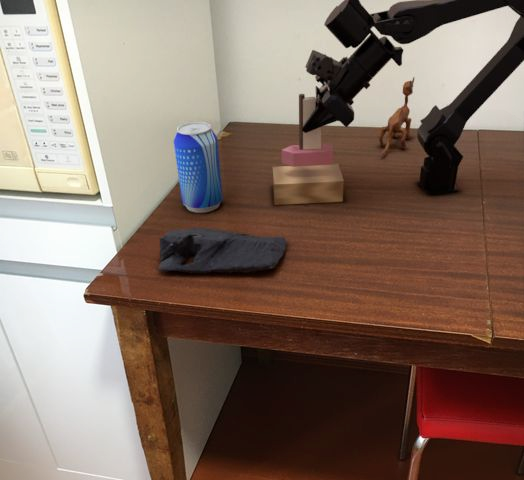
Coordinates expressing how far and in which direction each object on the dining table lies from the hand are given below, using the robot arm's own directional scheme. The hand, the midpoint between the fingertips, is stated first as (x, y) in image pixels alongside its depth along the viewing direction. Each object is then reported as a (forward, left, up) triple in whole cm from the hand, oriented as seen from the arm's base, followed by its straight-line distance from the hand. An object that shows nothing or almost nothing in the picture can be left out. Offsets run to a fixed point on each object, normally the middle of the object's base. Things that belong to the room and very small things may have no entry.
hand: (303, 129), depth 117 cm
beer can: (+21, -1, -14) cm, 25 cm away
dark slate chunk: (+20, +21, -14) cm, 32 cm away
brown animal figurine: (-28, -20, -14) cm, 37 cm away
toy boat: (-1, 0, -7) cm, 7 cm away
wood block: (-1, 0, -13) cm, 14 cm away
